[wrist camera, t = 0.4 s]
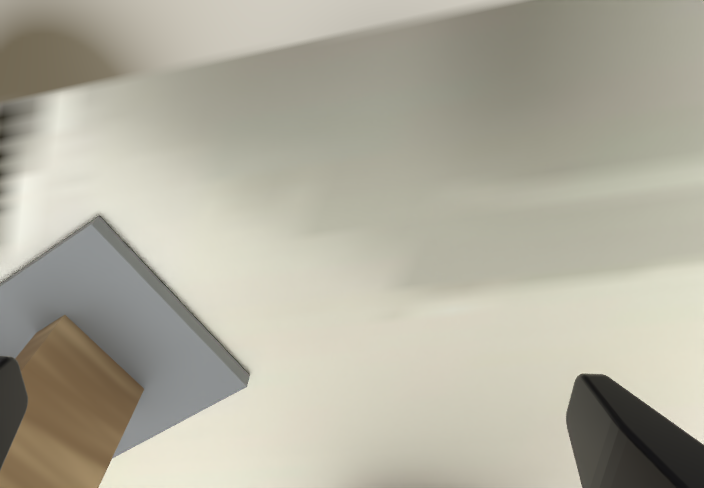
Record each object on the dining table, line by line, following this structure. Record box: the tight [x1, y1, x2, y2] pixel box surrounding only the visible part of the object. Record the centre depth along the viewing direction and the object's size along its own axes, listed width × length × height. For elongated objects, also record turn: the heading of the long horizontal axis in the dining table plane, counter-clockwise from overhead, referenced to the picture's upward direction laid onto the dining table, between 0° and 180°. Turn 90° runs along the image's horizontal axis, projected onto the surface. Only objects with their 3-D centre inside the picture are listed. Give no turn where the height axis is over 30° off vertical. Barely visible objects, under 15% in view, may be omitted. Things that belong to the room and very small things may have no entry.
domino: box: [0, 315, 144, 488], centre depth 22 cm, size 2×5×10 cm, turn 33°
